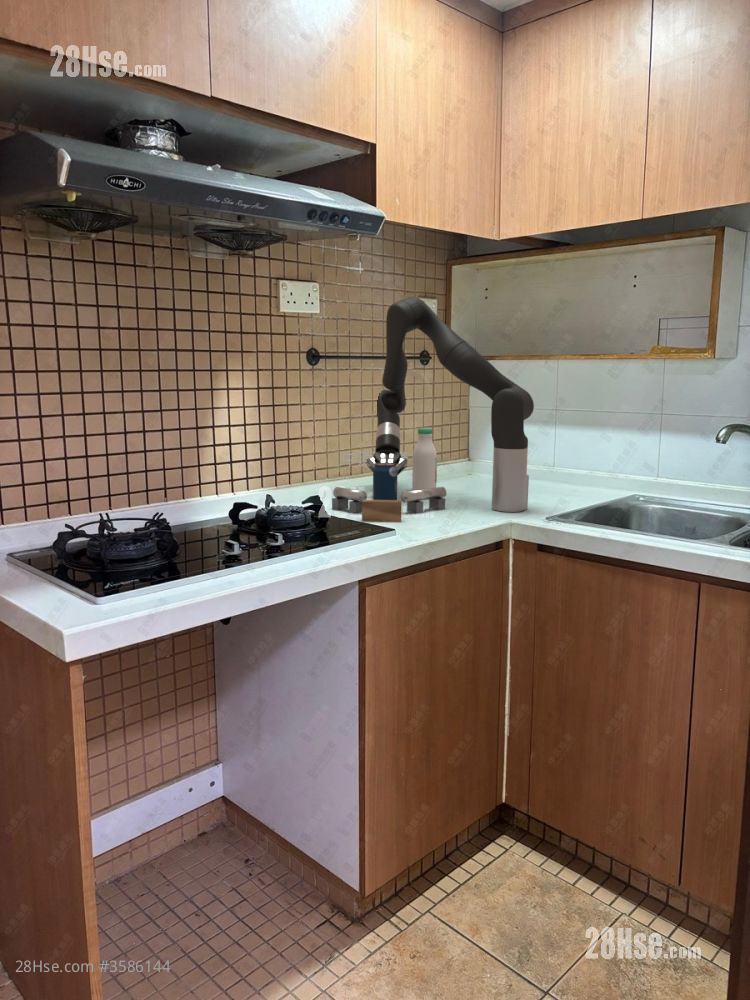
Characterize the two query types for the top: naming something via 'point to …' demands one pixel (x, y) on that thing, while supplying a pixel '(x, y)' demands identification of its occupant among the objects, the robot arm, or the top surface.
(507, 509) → the robot arm
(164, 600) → the top surface
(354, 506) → the shaft
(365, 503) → the block
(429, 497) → the shaft
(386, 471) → the soda can
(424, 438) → the milk bottle
